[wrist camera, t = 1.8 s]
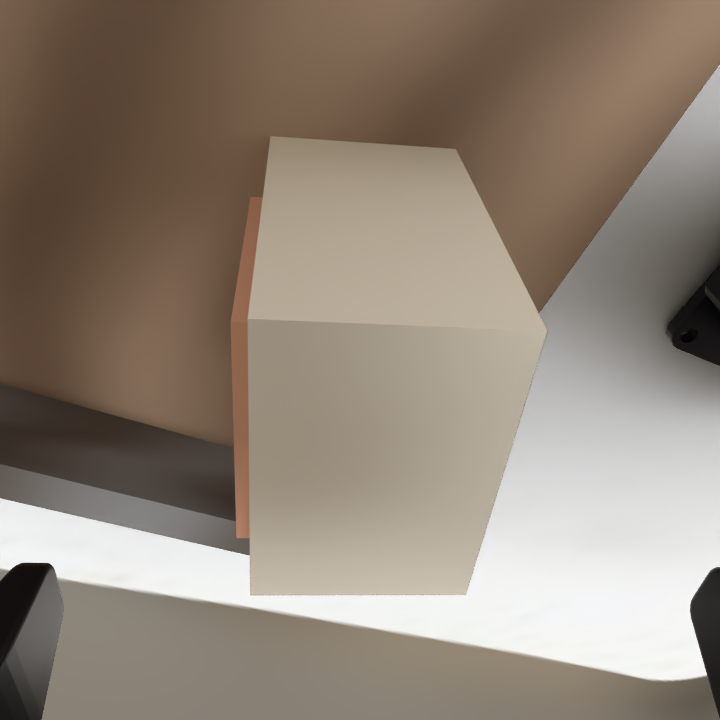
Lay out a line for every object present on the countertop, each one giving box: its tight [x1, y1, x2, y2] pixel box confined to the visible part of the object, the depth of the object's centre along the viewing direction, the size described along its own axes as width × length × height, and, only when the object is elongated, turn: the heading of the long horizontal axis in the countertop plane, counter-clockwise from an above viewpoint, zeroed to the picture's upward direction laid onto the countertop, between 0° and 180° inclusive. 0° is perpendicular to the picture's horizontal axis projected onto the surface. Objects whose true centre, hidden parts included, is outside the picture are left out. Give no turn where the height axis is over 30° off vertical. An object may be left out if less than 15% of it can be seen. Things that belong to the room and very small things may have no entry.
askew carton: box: [231, 136, 547, 595], centre depth 13 cm, size 4×6×7 cm
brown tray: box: [0, 0, 720, 555], centre depth 14 cm, size 22×17×4 cm
